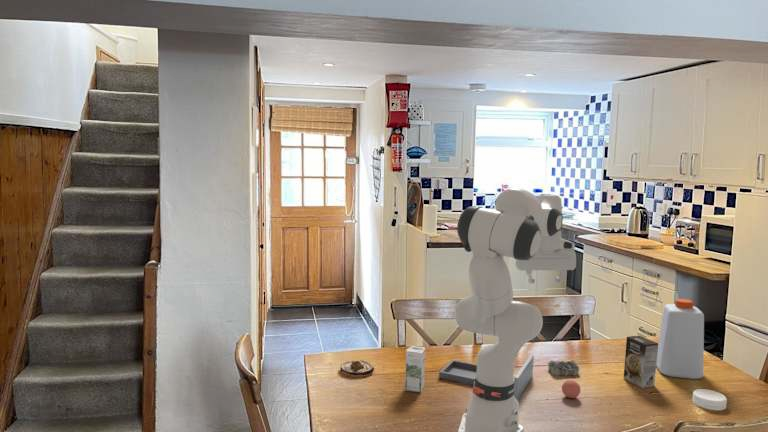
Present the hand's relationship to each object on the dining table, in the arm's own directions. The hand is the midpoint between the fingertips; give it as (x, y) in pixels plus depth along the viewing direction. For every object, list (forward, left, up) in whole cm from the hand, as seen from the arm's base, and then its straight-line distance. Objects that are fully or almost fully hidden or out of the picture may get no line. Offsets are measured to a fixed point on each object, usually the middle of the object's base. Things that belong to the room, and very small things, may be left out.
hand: (544, 282), depth 194 cm
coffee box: (+27, -31, -39) cm, 56 cm away
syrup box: (-19, +38, -39) cm, 58 cm away
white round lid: (+19, -53, -39) cm, 68 cm away
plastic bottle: (+46, -44, -39) cm, 74 cm away
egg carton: (+23, -4, -39) cm, 45 cm away
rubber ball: (+1, -11, -36) cm, 37 cm away
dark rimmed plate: (-15, +63, -39) cm, 76 cm away
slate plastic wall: (+1, +5, -39) cm, 39 cm away
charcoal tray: (+1, +27, -39) cm, 47 cm away
